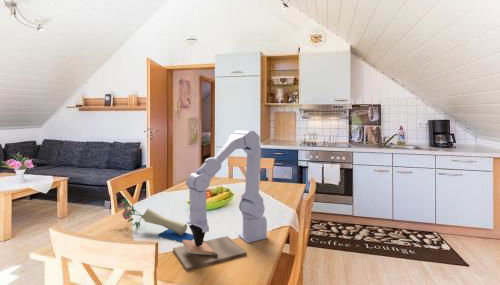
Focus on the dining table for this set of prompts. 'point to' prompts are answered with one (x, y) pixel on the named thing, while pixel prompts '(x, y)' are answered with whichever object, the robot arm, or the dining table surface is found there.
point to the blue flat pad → (175, 236)
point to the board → (222, 250)
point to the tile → (197, 247)
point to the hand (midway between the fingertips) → (198, 244)
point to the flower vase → (154, 219)
